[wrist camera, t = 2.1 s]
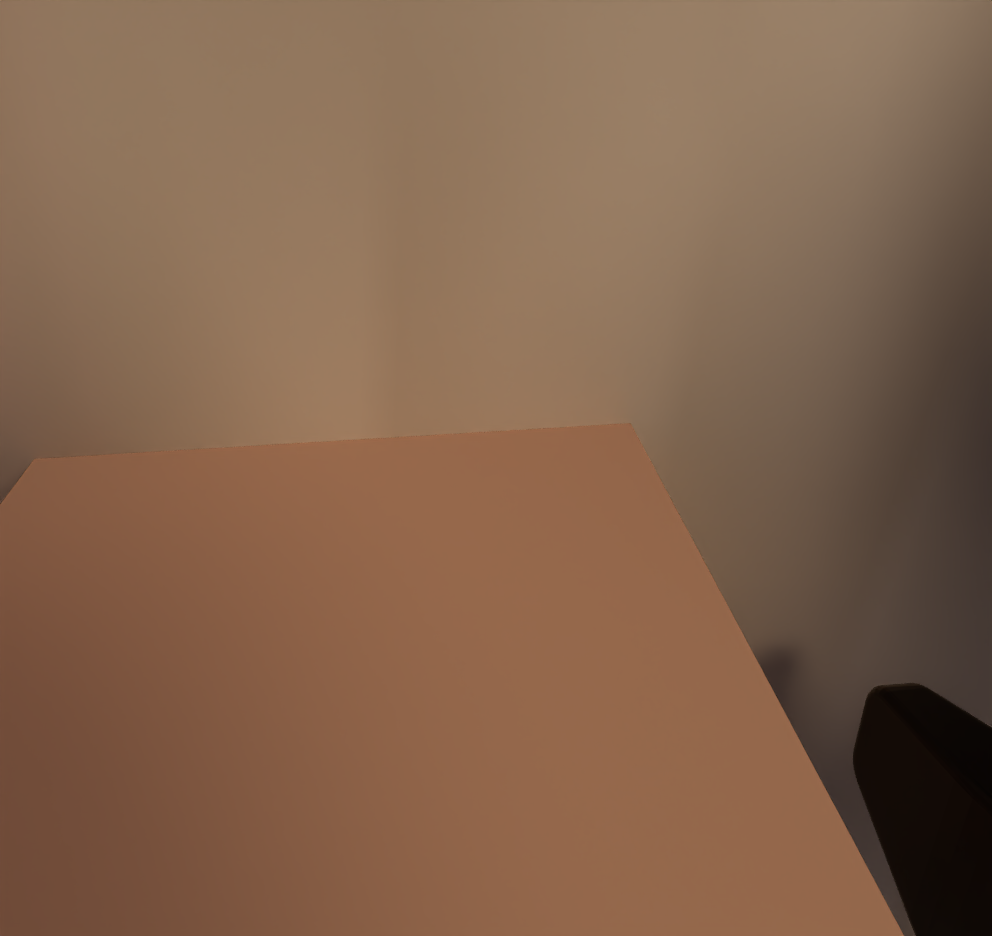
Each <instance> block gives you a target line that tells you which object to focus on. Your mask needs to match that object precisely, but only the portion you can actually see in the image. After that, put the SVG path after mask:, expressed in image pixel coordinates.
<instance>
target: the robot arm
mask: <svg viewBox="0 0 992 936" xmlns="http://www.w3.org/2000/svg"><path fill="white" fill-rule="evenodd" d="M853 765H854V772H855V776H856V779H857V782H858V785H859V788H860V790H861V793H862V796H863V798H864V801H865V804H866V806H867V809H868V812H869V814H870V817H871V820H872V822H873V825H874V828H875V830H876V833H877V836H878V838H879V841H880V843H881V846H882V849H883V851H884V854H885V857H886V859H887V862H888V865H889V867H890V870H891V873H892V875H893V878H894V881H895V883H896V886H897V889H898V891H899V894H900V897H901V899H902V902H903V905H904V907H905V910H906V912H907V915H908V918H909V920H910V923H911V925H912V928H913V930H914V933H915V935H916V936H992V727H990V726H988V725H987V724H985V723H984V722H982V721H980V720H979V719H977V718H976V717H974V716H972V715H971V714H969V713H967V712H966V711H964V710H963V709H961V708H959V707H958V706H956V705H955V704H953V703H951V702H950V701H948V700H947V699H945V698H943V697H942V696H940V695H939V694H937V693H935V692H934V691H932V690H931V689H929V688H927V687H925V686H923V685H920V684H917V683H904V684H893V685H881V686H877V687H874V688H873V689H872V690H871V691H870V692H869V694H868V695H867V698H866V701H865V706H864V710H863V714H862V718H861V722H860V726H859V730H858V734H857V738H856V742H855V747H854V752H853Z"/></svg>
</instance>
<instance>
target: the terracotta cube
mask: <svg viewBox="0 0 992 936" xmlns="http://www.w3.org/2000/svg"><path fill="white" fill-rule="evenodd" d="M0 936H904V935H903V933H902V931H901V929H900V927H899V926H898V924H897V922H896V920H895V918H894V916H893V914H892V912H891V911H890V909H889V907H888V905H887V903H886V901H885V899H884V897H883V896H882V894H881V892H880V890H879V888H878V886H877V884H876V882H875V881H874V879H873V877H872V875H871V873H870V871H869V869H868V867H867V866H866V864H865V862H864V860H863V858H862V856H861V854H860V852H859V851H858V849H857V847H856V845H855V843H854V841H853V839H852V838H851V836H850V834H849V832H848V830H847V828H846V826H845V824H844V823H843V821H842V819H841V817H840V815H839V813H838V811H837V809H836V808H835V806H834V804H833V802H832V800H831V798H830V796H829V794H828V793H827V791H826V789H825V787H824V785H823V783H822V781H821V779H820V778H819V776H818V774H817V772H816V770H815V768H814V766H813V764H812V763H811V761H810V759H809V757H808V755H807V753H806V751H805V749H804V748H803V746H802V744H801V742H800V740H799V738H798V736H797V734H796V733H795V731H794V729H793V727H792V725H791V723H790V721H789V719H788V718H787V716H786V714H785V712H784V710H783V708H782V706H781V704H780V703H779V701H778V699H777V697H776V695H775V693H774V691H773V689H772V688H771V686H770V684H769V682H768V680H767V678H766V676H765V675H764V673H763V671H762V669H761V667H760V665H759V663H758V661H757V660H756V658H755V656H754V654H753V652H752V650H751V648H750V646H749V645H748V643H747V641H746V639H745V637H744V635H743V633H742V631H741V630H740V628H739V626H738V624H737V622H736V620H735V618H734V616H733V615H732V613H731V611H730V609H729V607H728V605H727V603H726V601H725V600H724V598H723V596H722V594H721V592H720V590H719V588H718V586H717V585H716V583H715V581H714V579H713V577H712V575H711V573H710V571H709V570H708V568H707V566H706V564H705V562H704V560H703V558H702V556H701V555H700V553H699V551H698V549H697V547H696V545H695V543H694V541H693V540H692V538H691V536H690V534H689V532H688V530H687V528H686V526H685V525H684V523H683V521H682V519H681V517H680V515H679V513H678V512H677V510H676V508H675V506H674V504H673V502H672V500H671V498H670V497H669V495H668V493H667V491H666V489H665V487H664V485H663V483H662V482H661V480H660V478H659V476H658V474H657V472H656V470H655V468H654V467H653V465H652V463H651V461H650V459H649V457H648V455H647V453H646V452H645V450H644V448H643V446H642V444H641V442H640V440H639V438H638V437H637V435H636V433H635V431H634V429H633V427H632V425H631V423H627V424H610V425H593V426H577V427H560V428H543V429H526V430H510V431H493V432H476V433H460V434H443V435H426V436H409V437H393V438H376V439H359V440H342V441H326V442H309V443H292V444H276V445H259V446H242V447H225V448H209V449H192V450H175V451H158V452H142V453H125V454H108V455H92V456H75V457H58V458H41V459H34V460H33V461H32V463H31V464H30V465H29V467H28V468H27V469H26V471H25V472H24V473H23V475H22V476H21V477H20V479H19V480H18V481H17V483H16V484H15V485H14V487H13V488H12V489H11V491H10V492H9V493H8V495H7V496H6V497H5V499H4V500H3V501H2V503H1V504H0Z"/></svg>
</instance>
